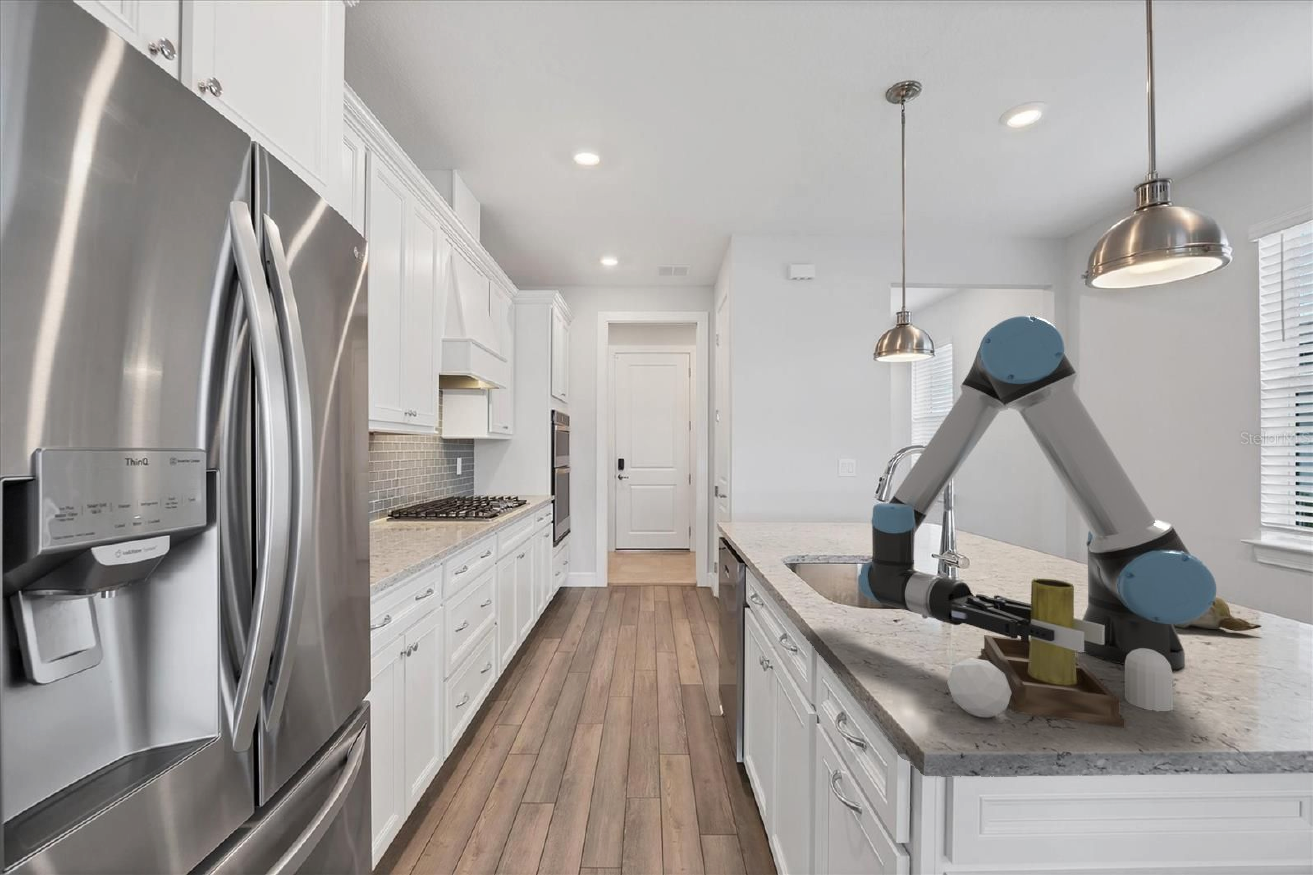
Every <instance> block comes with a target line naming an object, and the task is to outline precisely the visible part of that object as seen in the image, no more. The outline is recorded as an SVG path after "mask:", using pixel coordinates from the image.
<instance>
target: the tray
mask: <svg viewBox="0 0 1313 875" xmlns="http://www.w3.org/2000/svg"><path fill="white" fill-rule="evenodd" d="M983 637H984V638H983V640H984V642H983V644H984V645H983V646H984V647H983V648H981V649H980V655H981V658H982V660H987V661H989V662H990V663H992V664H993V665H994V666H995V667H997V668H998V669H999V670H1000V671H1002V672H1003V673H1004V674H1005V676H1006V679H1007V681H1008V684H1009V687H1010V690H1011V692H1012V693H1011V697H1010V700H1009V703H1008V705H1009V706H1010V707H1011V710H1012V712H1014V713H1021V714H1028V715H1034V716H1035V715H1036V716H1042V717H1049V718H1056V719H1057V718H1058V719H1063V720H1070V721H1076V722H1083V723H1084V722H1085V723H1091V724H1098V725H1106V726H1113V727H1117V728H1125V725H1126V724H1125V717H1124V716H1123V715H1122V714H1121V700H1120V698H1119V697H1118V696H1117V695H1116V694H1115V693H1114V692H1113V691H1112V690H1111V689H1110V688H1109V687H1108V686H1107V685H1106V684H1105V683H1104V682H1102V680H1101V679H1100V678H1098V676H1096V675H1095V673H1093V671H1091V669H1089V667H1088V666H1087V665H1085V664H1084V663H1083V661H1081V660H1080V659H1079V657H1077V656H1076V678H1077V684H1075V685H1073V686H1057V685H1052V684H1047V683H1044V682H1041V681H1038V680H1036V679H1034V678H1033V677H1031V676H1030V675H1029V674H1028V672H1027V671H1028V665H1029V651H1030V639H1029V643H1024V642H1021V638H1011V637H1007V636H997V635H987V634H984V636H983Z"/></svg>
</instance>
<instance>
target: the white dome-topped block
mask: <svg viewBox="0 0 1313 875" xmlns="http://www.w3.org/2000/svg"><path fill="white" fill-rule="evenodd" d="M1173 686H1174V685H1173V669H1171V665H1170V663H1169V662H1168V661H1167V659H1166V658H1165V657H1164V656H1163V655H1161V654H1159V653H1158V652H1156V651H1154V650H1151V649H1146V648H1139V649H1136V650H1133V651H1131V652H1130V653H1129V654H1128V655H1127V656H1126V660H1125V664H1124V698H1125V701H1127V702H1128V703H1129V704H1131V705H1133V706H1135V707H1138V708H1140V709H1145V710H1147V711H1152V710H1155V711H1154V712H1159V711H1170V710H1171V711H1173V710H1174V709H1173V705H1174V703H1173V697H1174V695H1173ZM1171 711H1170V712H1171Z"/></svg>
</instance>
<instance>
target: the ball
mask: <svg viewBox="0 0 1313 875" xmlns="http://www.w3.org/2000/svg"><path fill="white" fill-rule="evenodd" d="M946 683H947V685H948V686H947V687H948V688H949V691H950V694H951V698H952V700H953V701H954V702H955V703H956V705H958V706H959V707H960V708H961V709H963V710H964V711H965V712H966V713H967V714H969V715H972V716H976V717H978V718H989V719H990V718H991V717H994V716H997V715H999V714H1001V713H1002V712H1004V711H1006V710H1007V708H1008V705H1009V700H1010V697H1011V693H1012V692H1011V690H1010V687H1009V684H1008V681H1007V679H1006V676H1005V674H1004V673H1003V672H1002V671H1000V670H999V669H998V668H997V667H995V666H994V665H993V664H992V663H990V662H989V661H987V660H984V659H979V658H973V657H967V658H965V659H963V660H962V661H960V662H958V663H956V664H954V665H952V668H951V670H950V673H949V676H948V679H947V682H946Z"/></svg>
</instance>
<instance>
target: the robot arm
mask: <svg viewBox="0 0 1313 875" xmlns="http://www.w3.org/2000/svg"><path fill="white" fill-rule="evenodd" d="M1077 376H1078V374H1077V372H1076V370H1075V368H1074V367H1073V365H1072V364H1071V362H1070V361H1069V359H1068V358H1067V356H1066V354H1065V344H1064V339H1063V337H1062V335H1061V332H1060V331H1059V330H1058V329H1057V327H1056V326H1055V325H1054V324H1052V323H1051V322H1049V321H1048V320H1046V319H1043V318H1041V317H1038V316H1037V317H1036V316H1032V315H1031V316H1030V315H1018V316H1014V317H1010V318H1007V319H1005V320H1002V321H1001V322H999V323H997V324H996V325H995V326H993V327H991V328H990V329H989V330H988V331H987V333H986V334H985V335H984V336H983V338H982V339H981V342H980V345H979V348H978V350H977V352H976V355H975V358H974V361H973V363H972V366H971V368H970V369H969V372H968V374H967V375H966V377H965V378H964V380H963V382H962V383H961V385H960V389H961V390H960V391H961V394H960V396H959V397H958V398H957V400H956V402H955V403H954V405H953V406H952V408H950V411H949V412H948V414H947V415H946V417H945V418H944V420H943V421H942V423H941V424H940V426H939V427H938V428H937V430H936V431H935V433H934V434H933V436H932V438H931V439H930V440H929V442H928V444H927V445H926V447H925V448H924V450H923V451H922V452H921V454H920V455H919V457H918V458H917V459H916V462H915V463H914V465H913V466H912V468H911V469H910V471H909V472H908V474H907V475H906V477H905V478H904V479H903V480H902V482H901V484H900V485H899V487H898V489H897V490H896V491H895V493H894V495H893V497H892V498H891V499H890V501H889V502H887V503H886V502H883V503H877V504H875V505H873V508H872V517H871V518H872V519H871V525H872V526H871V527H872V530H871V532H872V535H871V537H872V538H871V539H872V540H871V541H872V542H871V543H872V547H871V549H872V551H871V552H872V558H871V561H868V562H866V563H865V564H863V566H862V567H861V569H860V574H859V575H858V578H857V580H858V581H857V583H858V588H859V590H860V592H861V594H862V595H863V596H864V597H866V598H867V599H869V600H872V601H875V602H878V604H880V605H884V606H889V607H893V608H897V609H900V610H904V611H907V612H911V613H914V614H917V615H921V618H923V619H928V618H930V619H935V620H937V621H940V622H943V623H946V624H949V625H953V626H959V625H962V624H964V625H969V626H972V627H975V628H978V629H981V630H985V631H989V632H992V633H994V634H998V635H1001V636H1003V637H1009V638H1018V637H1020V639H1021V642H1024V643H1029V640H1030V636H1031V638H1032V639H1036V640H1039V641H1043V642H1046V643H1050V644H1053V645H1057V646H1060V647H1064V648H1067V649H1071V650H1074V651H1075V652H1079V653H1087V654H1089V655H1091V656H1093V657H1097V658H1100V659H1102V660H1106V661H1108V662H1112V663H1116V664H1121V665H1125V660H1126V656H1127V655H1128V654H1129V653H1130V652H1131V651H1133V650H1136V649H1139V648H1146V649H1151V650H1154V651H1156V652H1158V653H1159V654H1161V655H1163V656H1164V657H1165V658H1166V659H1167V661H1168V662H1169V663H1170V665H1171V669H1172V670H1177V669H1181V668H1183V667H1185V665H1186V660H1185V659H1186V657H1185V654H1186V653H1185V650H1184V647H1183V644H1182V642H1181V640H1180V638H1179V634H1178V633H1177V630H1176V626H1174V625H1173V624H1180V623H1186V622H1189V621H1192V620H1195V619H1197V618H1199V617H1201V616H1202V615H1203V614H1205V613H1206V612H1207V611H1208V610H1209V609H1210V607H1211V605H1212V604H1213V602H1214V600H1215V597H1216V596H1217V584H1216V583H1217V582H1216V580H1215V577H1214V576H1213V573H1212V572H1211V570H1210V569H1209V568H1208V567H1207V566H1206V565H1205V564H1204V563H1203V562H1202V560H1200V559H1198V558H1197V557H1196V556H1194V555H1191V553H1190V551H1188V548H1187V547H1186V546H1185V544H1184V542H1183V541H1182V539H1181V537H1180V536H1179V535H1178V533H1177V532H1176V530H1175V529H1174V526H1173V525H1172V524H1171V523H1169V522H1168V521H1164V520H1162V519H1161V520H1160V519H1158V518H1156V517H1154V516H1153V515H1152V513H1151V511H1150V510H1149V509H1148V507H1147V505H1146V503H1145V502H1144V500H1143V499H1142V497H1141V495H1140V494H1139V491H1138V490H1137V489H1136V487H1135V486H1134V484H1133V482H1132V480H1131V479H1130V478H1129V476H1128V474H1127V472H1126V471H1125V469H1124V468H1123V466H1122V465H1121V462H1119V460H1118V458H1117V457H1116V455H1115V454H1114V452H1113V451H1112V449H1111V447H1110V445H1109V443H1108V442H1107V441H1106V439H1105V437H1104V436H1103V434H1102V432H1101V431H1100V429H1099V428H1098V426H1097V425H1096V422H1094V420H1093V418H1092V416H1091V415H1090V414H1089V412H1088V410H1087V408H1086V407H1085V405H1084V404H1083V402H1082V400H1081V399H1080V397H1079V396H1078V394H1077V392H1076V391H1075V389H1074V384H1075V381H1076V379H1077ZM1009 409H1011V410H1016V411H1017V412H1019V414H1020V416H1021V417H1022V419H1023V420H1024V422H1025V424H1026V425H1027V428H1028V429H1029V431H1030V433H1031V435H1033V438H1034V439H1035V441H1036V442H1037V444H1038V446H1039V447H1040V449H1041V451H1042V452H1043V455H1044V456H1045V458H1046V459H1047V461H1048V462H1049V465H1050V466H1051V467H1052V470H1053V471H1054V473H1055V474H1056V476H1057V478H1058V479H1059V481H1060V483H1061V486H1063V488H1064V489H1065V491H1066V493H1067V495H1068V496H1069V498H1070V500H1071V502H1072V503H1073V504H1074V507H1075V509H1076V510H1077V511H1078V513H1079V515H1080V516H1081V518H1082V521H1084V523H1085V526H1086V527H1087V529H1088V533H1087V540H1086V546H1087V597H1088V598H1087V608H1086V610H1085V612H1084V614H1083V617H1082V619H1080V618H1075V617H1074V629H1070V628H1066V627H1062V626H1058V625H1054V624H1050V623H1047V622H1043V621H1039V620H1035V619H1033V620H1031V603H1028V602H1023V601H1020V600H1015V599H1011V598H1007V597H1004V596H1001V595H998V594H997V595H994V596H993V597H989V596H988V595H985V594H980V593H979V594H978V593H976V594H975V595H974V594H973V593H972V591H971V588H970V586H969V585H968V584H967V583H966V582H964V581H961V580H956V579H952V578H948V577H942V576H941V575H936V574H932V573H928V572H927V573H925V572H922V571H916V570H915V535H916V532H917V531H918V529H919V528H920V527H921V525H922V524H923V522H924V521H925V520H926V517H927V516H928V514H929V513H930V511H931V510H932V509H933V507H934V506H935V504H936V503H937V502H938V500H939V499H940V497H941V496H942V494H943V493H944V492H945V490H946V489H947V488H948V486H949V484H950V483H951V481H953V479H954V478H955V476H956V474H957V473H958V472H959V470H960V469H961V467H962V466H963V465H964V463H965V461H966V460H967V459H968V458H969V456H970V455H971V453H972V452H973V450H974V448H975V447H976V445H977V444H978V443H979V441H980V440H981V439H982V437H983V435H985V433H986V432H987V430H988V428H989V427H990V426H991V424H992V423H993V421H994V420H995V418H996V417H997V415H998V414H999V413H1000V412H1002V411H1007V410H1009ZM1018 639H1019V638H1018Z"/></svg>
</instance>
